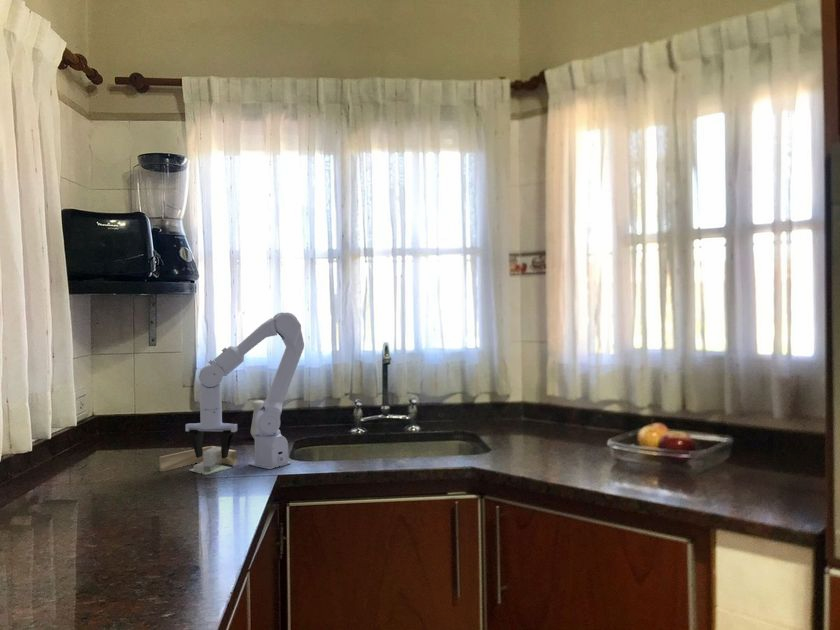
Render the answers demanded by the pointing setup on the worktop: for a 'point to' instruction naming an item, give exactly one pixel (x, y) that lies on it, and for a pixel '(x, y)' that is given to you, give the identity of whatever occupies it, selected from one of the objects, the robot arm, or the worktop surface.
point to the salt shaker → (257, 407)
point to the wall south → (229, 457)
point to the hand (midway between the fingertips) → (212, 457)
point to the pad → (213, 470)
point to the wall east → (180, 459)
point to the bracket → (209, 460)
